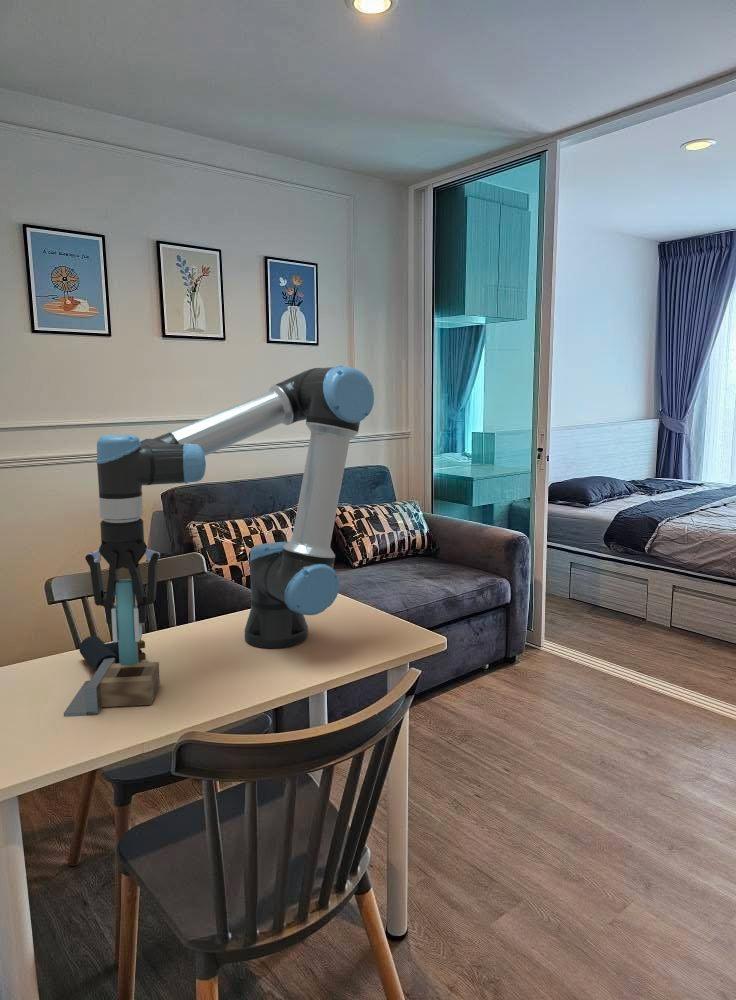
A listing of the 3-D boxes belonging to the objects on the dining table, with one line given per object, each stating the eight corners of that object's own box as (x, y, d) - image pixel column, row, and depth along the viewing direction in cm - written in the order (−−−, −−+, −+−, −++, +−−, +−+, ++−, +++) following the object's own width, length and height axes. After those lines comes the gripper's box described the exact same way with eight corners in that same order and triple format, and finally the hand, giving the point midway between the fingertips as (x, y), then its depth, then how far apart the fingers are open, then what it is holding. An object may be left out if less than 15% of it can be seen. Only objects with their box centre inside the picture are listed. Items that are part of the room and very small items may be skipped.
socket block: (159, 684, 137) (158, 661, 136) (151, 704, 128) (149, 680, 127) (113, 686, 136) (112, 663, 135) (101, 707, 127) (100, 682, 126)
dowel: (139, 657, 132) (136, 578, 130) (136, 665, 129) (132, 583, 127) (121, 658, 132) (117, 578, 129) (117, 665, 129) (113, 584, 126)
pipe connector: (132, 628, 155) (152, 645, 143) (133, 650, 156) (153, 670, 143) (78, 637, 148) (95, 657, 136) (80, 661, 149) (96, 682, 137)
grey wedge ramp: (116, 682, 138) (115, 657, 137) (98, 714, 124) (96, 687, 124) (85, 683, 137) (84, 659, 137) (63, 716, 124) (61, 689, 123)
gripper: (170, 514, 131) (174, 631, 135) (81, 515, 129) (88, 634, 133) (163, 521, 124) (168, 645, 127) (69, 523, 122) (77, 648, 125)
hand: (127, 639), depth 130 cm, fingers closed on dowel, 3 cm apart
